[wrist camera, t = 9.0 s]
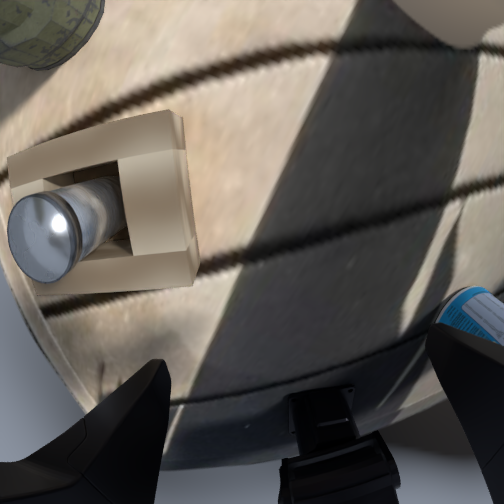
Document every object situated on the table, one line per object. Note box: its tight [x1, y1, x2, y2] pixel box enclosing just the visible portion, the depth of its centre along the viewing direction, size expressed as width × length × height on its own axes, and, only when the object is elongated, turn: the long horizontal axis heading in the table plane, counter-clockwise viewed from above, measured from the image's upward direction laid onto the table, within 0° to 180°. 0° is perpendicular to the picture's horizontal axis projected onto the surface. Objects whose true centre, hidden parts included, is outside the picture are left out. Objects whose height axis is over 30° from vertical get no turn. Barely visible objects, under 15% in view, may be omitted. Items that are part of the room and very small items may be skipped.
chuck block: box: [7, 110, 200, 296], centre depth 17 cm, size 10×12×4 cm
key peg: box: [7, 176, 127, 284], centre depth 15 cm, size 4×4×9 cm
